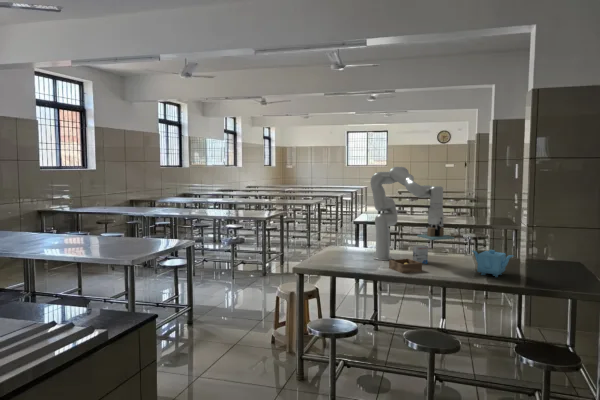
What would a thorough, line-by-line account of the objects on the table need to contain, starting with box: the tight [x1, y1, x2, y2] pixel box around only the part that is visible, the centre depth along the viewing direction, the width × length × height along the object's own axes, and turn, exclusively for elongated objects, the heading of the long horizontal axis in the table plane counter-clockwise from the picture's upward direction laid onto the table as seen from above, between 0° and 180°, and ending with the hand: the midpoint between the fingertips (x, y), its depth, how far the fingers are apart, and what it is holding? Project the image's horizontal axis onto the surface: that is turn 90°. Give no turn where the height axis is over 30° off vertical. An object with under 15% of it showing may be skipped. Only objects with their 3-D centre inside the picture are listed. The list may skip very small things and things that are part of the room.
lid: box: [416, 227, 455, 241], centre depth 288 cm, size 16×16×6 cm
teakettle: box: [470, 249, 515, 278], centre depth 274 cm, size 19×19×15 cm
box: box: [388, 258, 423, 274], centre depth 281 cm, size 14×14×6 cm
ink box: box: [412, 244, 429, 265], centre depth 304 cm, size 9×5×12 cm, turn 105°
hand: (435, 235), depth 288 cm, fingers closed on lid, 3 cm apart
